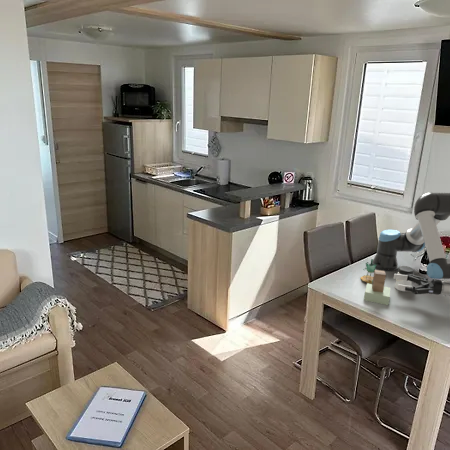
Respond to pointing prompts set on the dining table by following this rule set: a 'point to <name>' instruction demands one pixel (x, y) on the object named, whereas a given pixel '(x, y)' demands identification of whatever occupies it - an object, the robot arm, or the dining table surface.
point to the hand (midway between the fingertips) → (395, 281)
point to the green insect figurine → (370, 269)
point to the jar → (404, 271)
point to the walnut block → (378, 281)
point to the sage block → (377, 295)
